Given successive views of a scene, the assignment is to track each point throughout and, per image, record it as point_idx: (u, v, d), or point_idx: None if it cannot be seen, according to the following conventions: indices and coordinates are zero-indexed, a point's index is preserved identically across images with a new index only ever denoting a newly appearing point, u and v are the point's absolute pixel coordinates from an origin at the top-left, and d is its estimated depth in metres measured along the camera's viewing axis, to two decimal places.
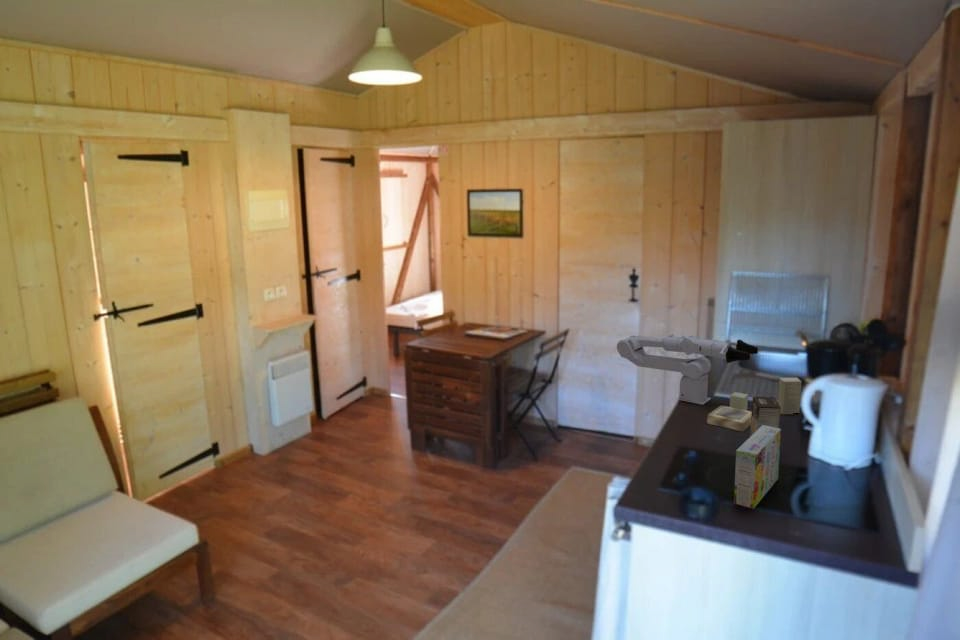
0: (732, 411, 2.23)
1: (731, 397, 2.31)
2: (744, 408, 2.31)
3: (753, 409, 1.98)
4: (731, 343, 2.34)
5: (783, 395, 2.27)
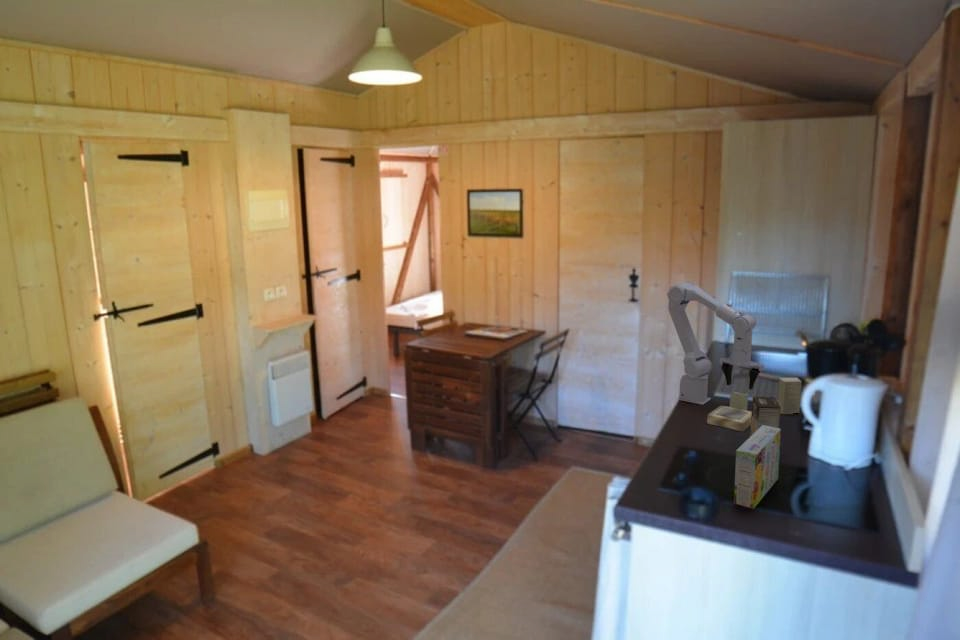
0: (732, 411, 2.23)
1: (731, 397, 2.31)
2: (744, 408, 2.31)
3: (753, 409, 1.98)
4: None
5: (783, 395, 2.27)
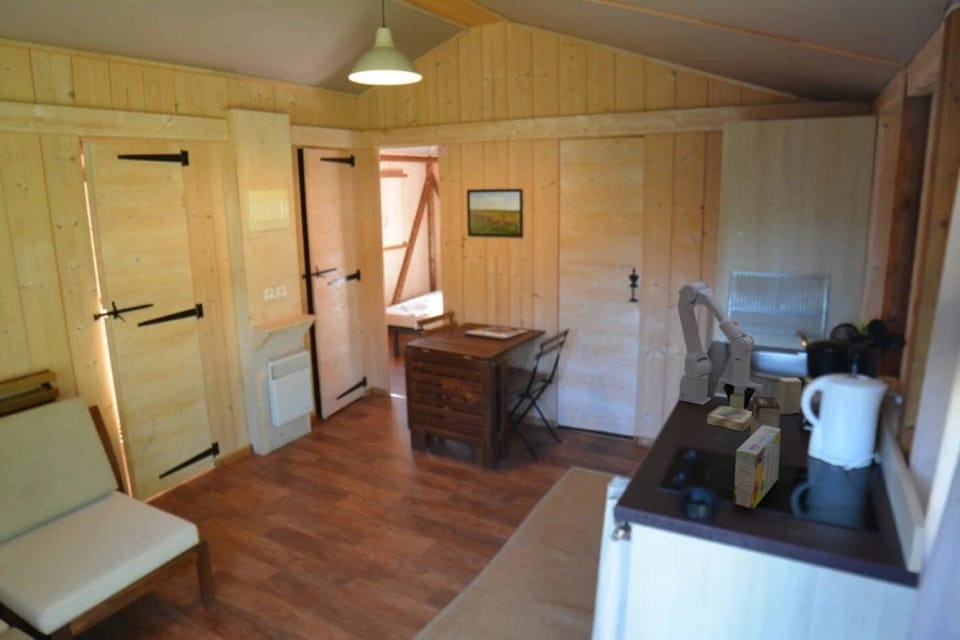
0: (732, 411, 2.23)
1: (731, 397, 2.31)
2: None
3: (753, 409, 1.98)
4: None
5: (783, 395, 2.27)
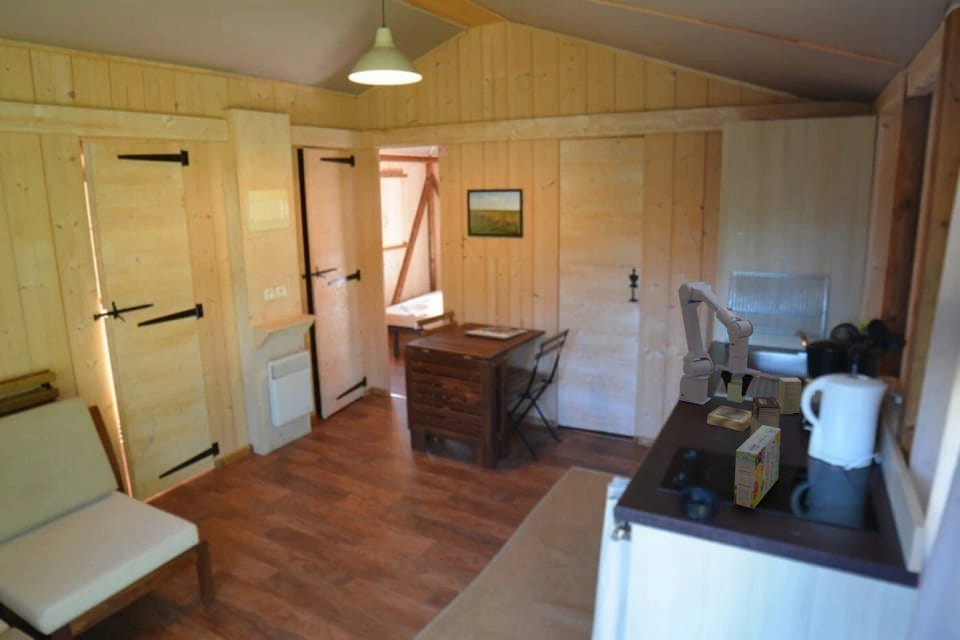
0: (732, 411, 2.23)
1: (729, 385, 2.24)
2: (742, 396, 2.23)
3: (753, 409, 1.98)
4: None
5: (783, 395, 2.27)
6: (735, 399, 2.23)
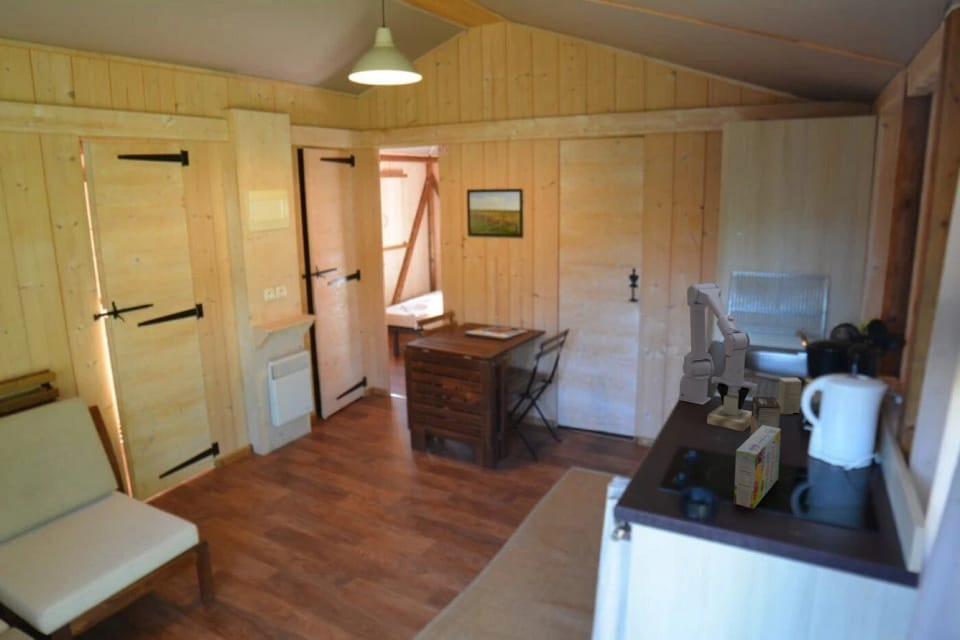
0: None
1: (725, 398, 2.20)
2: (739, 410, 2.20)
3: (753, 409, 1.98)
4: None
5: (783, 395, 2.27)
6: (731, 412, 2.20)
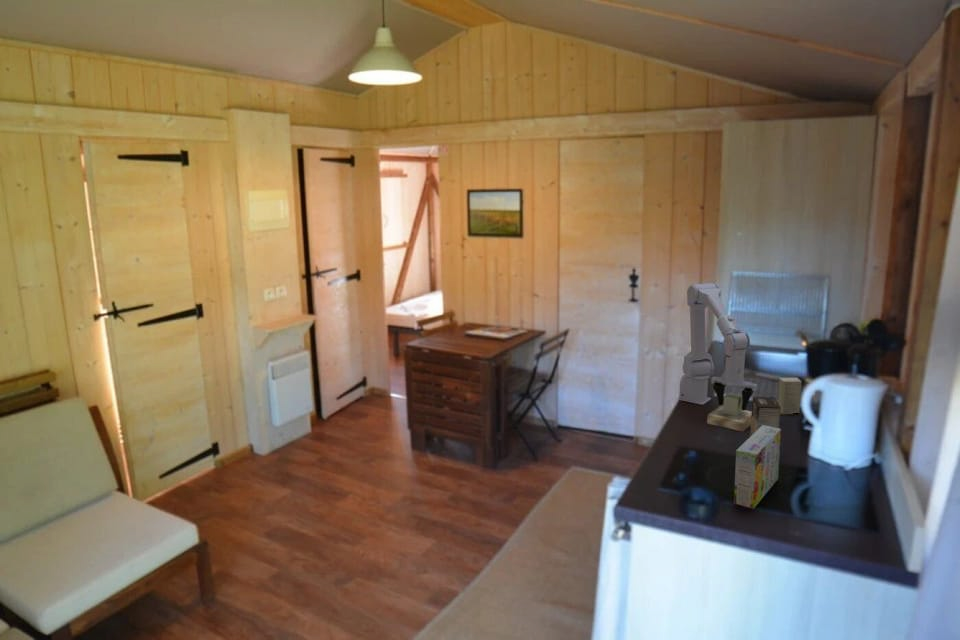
0: None
1: (725, 398, 2.20)
2: (739, 410, 2.20)
3: (753, 409, 1.98)
4: None
5: (783, 395, 2.27)
6: (731, 412, 2.20)
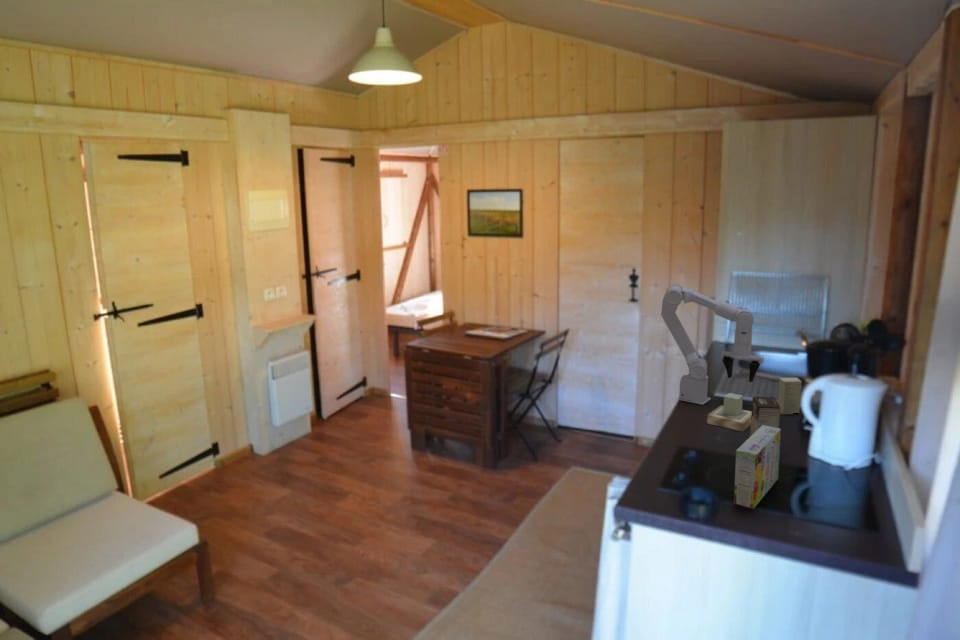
0: None
1: (725, 398, 2.20)
2: (739, 410, 2.20)
3: (753, 409, 1.98)
4: None
5: (783, 395, 2.27)
6: (731, 412, 2.20)
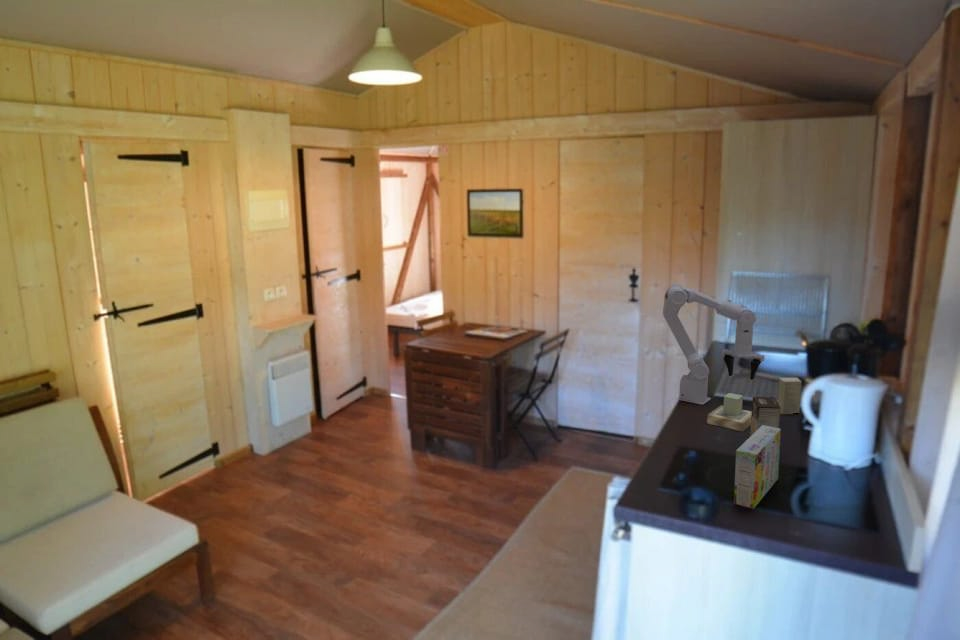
0: None
1: (725, 398, 2.20)
2: (739, 410, 2.20)
3: (753, 409, 1.98)
4: None
5: (783, 395, 2.27)
6: (731, 412, 2.20)
